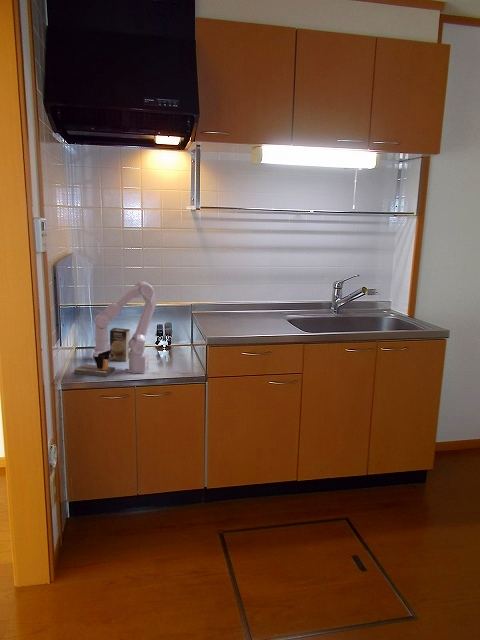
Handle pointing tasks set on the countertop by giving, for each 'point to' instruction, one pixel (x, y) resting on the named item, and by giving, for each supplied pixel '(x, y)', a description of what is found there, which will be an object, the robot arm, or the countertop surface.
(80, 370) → the switch panel
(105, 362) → the knob
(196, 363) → the countertop surface
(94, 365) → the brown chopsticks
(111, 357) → the coffee box
